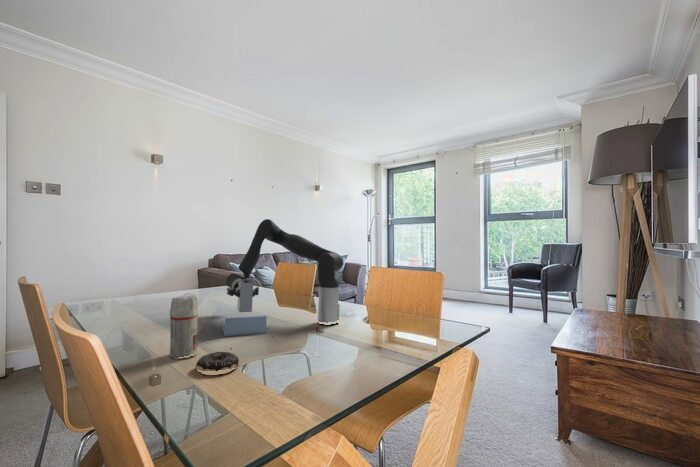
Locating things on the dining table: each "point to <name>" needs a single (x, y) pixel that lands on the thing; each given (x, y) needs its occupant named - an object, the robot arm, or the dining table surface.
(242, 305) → the block
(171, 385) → the dining table surface
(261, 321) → the bracket
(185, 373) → the dining table surface
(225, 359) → the donut
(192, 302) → the spray can
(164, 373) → the dining table surface
